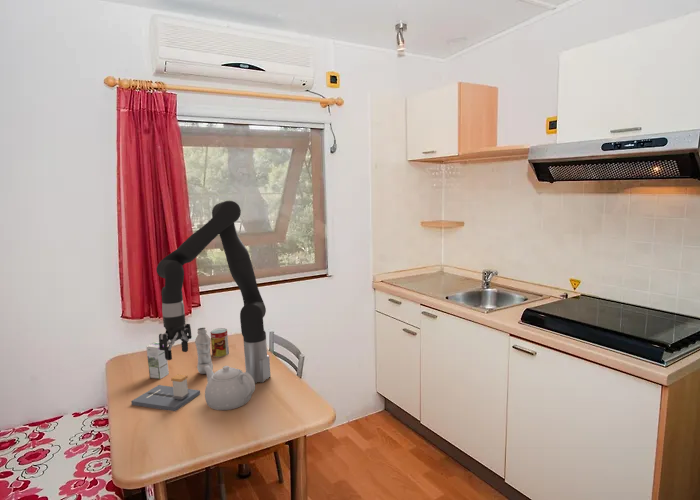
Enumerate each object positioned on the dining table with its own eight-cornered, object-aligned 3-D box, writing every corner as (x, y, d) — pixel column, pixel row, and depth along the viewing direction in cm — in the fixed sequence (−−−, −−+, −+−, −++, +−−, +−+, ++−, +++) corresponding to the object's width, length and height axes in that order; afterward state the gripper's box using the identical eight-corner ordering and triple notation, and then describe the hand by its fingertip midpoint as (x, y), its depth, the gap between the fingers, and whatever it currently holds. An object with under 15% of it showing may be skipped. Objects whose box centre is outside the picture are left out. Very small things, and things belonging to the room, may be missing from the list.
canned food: (212, 352, 212) (210, 329, 210) (228, 350, 214) (226, 327, 212) (212, 358, 204) (210, 334, 203) (229, 355, 206) (227, 332, 205)
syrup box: (169, 373, 187) (166, 342, 185) (160, 379, 182) (156, 347, 180) (158, 372, 189) (155, 341, 187) (148, 378, 183) (145, 346, 181)
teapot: (202, 417, 149) (199, 380, 147) (205, 394, 166) (202, 361, 165) (256, 408, 154) (254, 372, 152) (254, 387, 171) (251, 354, 170)
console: (200, 394, 167) (199, 390, 166) (175, 411, 154) (174, 407, 153) (159, 388, 173) (158, 384, 173) (131, 404, 160) (131, 400, 160)
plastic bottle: (203, 377, 182) (199, 332, 180) (194, 373, 187) (190, 329, 184) (216, 371, 188) (213, 328, 185) (207, 368, 192) (203, 325, 189)
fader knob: (189, 394, 162) (188, 375, 161) (182, 399, 158) (180, 379, 157) (180, 393, 164) (178, 373, 163) (172, 398, 159) (170, 378, 158)
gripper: (168, 319, 149) (171, 363, 151) (194, 309, 162) (198, 349, 164) (151, 318, 151) (154, 361, 153) (178, 307, 165) (182, 348, 167)
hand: (177, 355), depth 159 cm, fingers open, 8 cm apart
